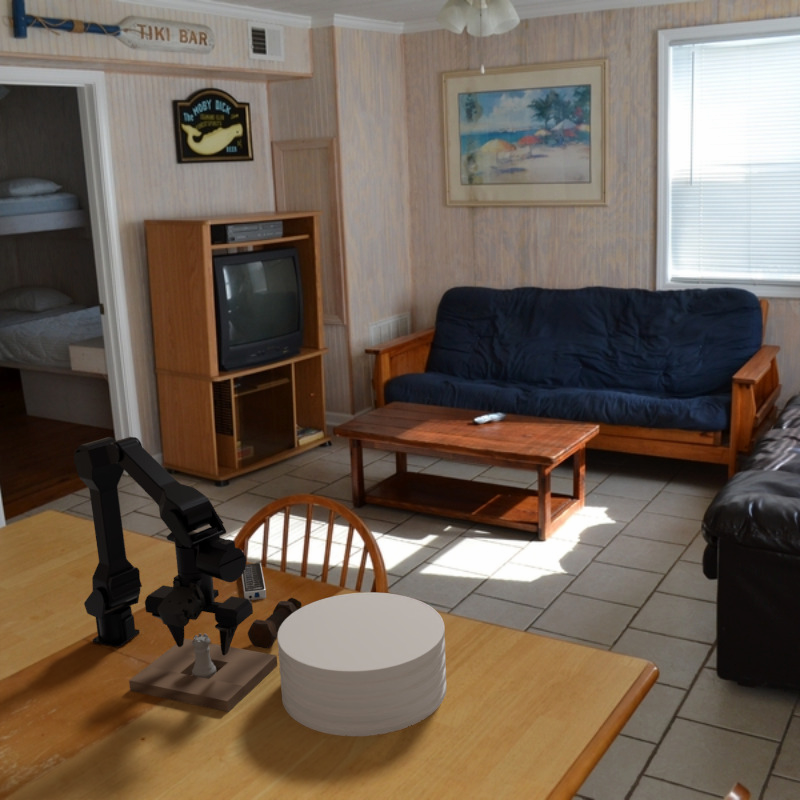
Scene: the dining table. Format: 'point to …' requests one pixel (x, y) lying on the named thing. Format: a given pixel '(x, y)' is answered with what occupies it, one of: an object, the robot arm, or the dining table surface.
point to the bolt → (272, 624)
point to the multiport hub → (253, 582)
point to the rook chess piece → (202, 657)
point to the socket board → (218, 692)
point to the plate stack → (362, 663)
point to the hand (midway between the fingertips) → (202, 650)
